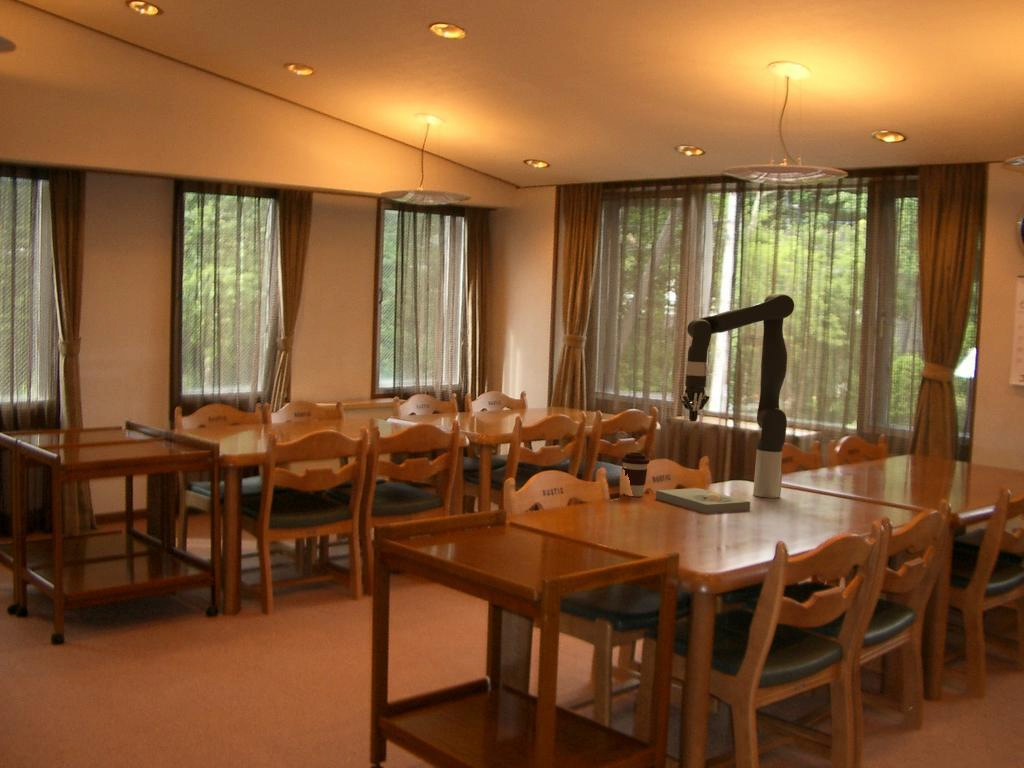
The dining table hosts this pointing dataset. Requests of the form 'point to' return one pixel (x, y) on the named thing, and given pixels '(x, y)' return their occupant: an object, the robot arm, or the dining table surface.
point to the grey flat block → (702, 500)
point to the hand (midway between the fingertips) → (692, 421)
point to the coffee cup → (636, 471)
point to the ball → (713, 497)
